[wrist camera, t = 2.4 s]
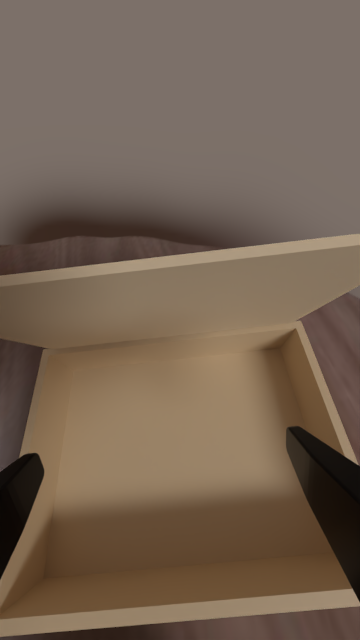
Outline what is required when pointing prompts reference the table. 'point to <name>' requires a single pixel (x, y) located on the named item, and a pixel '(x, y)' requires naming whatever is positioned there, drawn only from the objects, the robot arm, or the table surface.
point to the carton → (173, 484)
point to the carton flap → (177, 293)
